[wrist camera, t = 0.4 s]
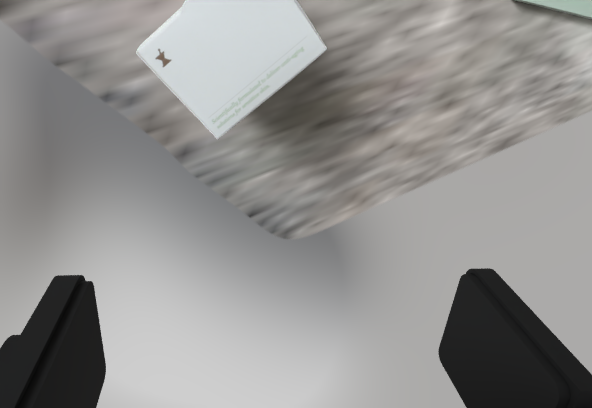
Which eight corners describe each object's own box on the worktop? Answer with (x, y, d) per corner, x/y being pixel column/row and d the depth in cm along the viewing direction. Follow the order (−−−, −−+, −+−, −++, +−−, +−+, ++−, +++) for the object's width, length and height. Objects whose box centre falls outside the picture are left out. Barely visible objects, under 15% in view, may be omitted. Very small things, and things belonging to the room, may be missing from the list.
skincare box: (217, 91, 38) (214, 149, 25) (163, 27, 36) (124, 52, 22) (293, 29, 37) (334, 53, 23) (243, -43, 34) (255, -64, 20)
